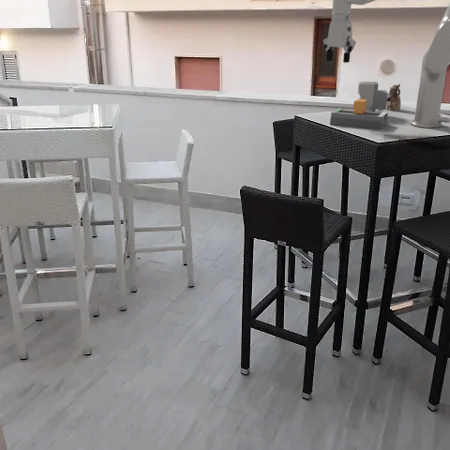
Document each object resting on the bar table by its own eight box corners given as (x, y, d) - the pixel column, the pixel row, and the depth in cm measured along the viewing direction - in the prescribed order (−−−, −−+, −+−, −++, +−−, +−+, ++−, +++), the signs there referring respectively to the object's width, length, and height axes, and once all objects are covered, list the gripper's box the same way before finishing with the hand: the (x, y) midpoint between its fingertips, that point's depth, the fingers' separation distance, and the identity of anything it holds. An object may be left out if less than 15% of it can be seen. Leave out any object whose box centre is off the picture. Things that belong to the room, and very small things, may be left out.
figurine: (382, 108, 243) (385, 83, 238) (395, 107, 245) (398, 83, 240) (389, 111, 237) (392, 86, 232) (402, 110, 238) (406, 85, 233)
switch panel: (387, 124, 212) (388, 111, 210) (381, 129, 203) (382, 116, 201) (337, 119, 222) (338, 107, 219) (329, 124, 213) (330, 112, 211)
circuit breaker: (388, 118, 223) (392, 84, 217) (356, 117, 226) (359, 83, 220) (387, 114, 230) (390, 81, 224) (355, 113, 232) (358, 81, 226)
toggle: (365, 116, 213) (367, 99, 210) (361, 118, 208) (363, 101, 205) (356, 115, 214) (357, 98, 211) (352, 118, 210) (354, 101, 207)
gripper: (363, 18, 199) (359, 62, 206) (331, 18, 212) (328, 59, 219) (350, 19, 195) (347, 63, 203) (319, 18, 208) (316, 60, 215)
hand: (337, 61), depth 211 cm, fingers open, 9 cm apart
